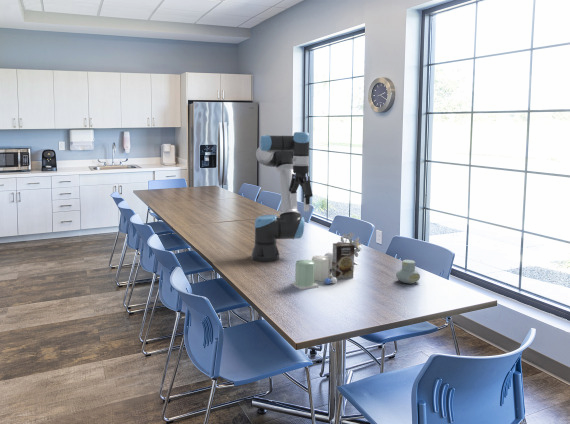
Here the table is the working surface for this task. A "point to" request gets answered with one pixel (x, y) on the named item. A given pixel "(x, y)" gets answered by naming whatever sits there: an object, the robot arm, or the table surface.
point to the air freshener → (408, 272)
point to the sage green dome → (305, 273)
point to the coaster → (305, 286)
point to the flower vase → (345, 242)
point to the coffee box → (343, 260)
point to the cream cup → (321, 267)
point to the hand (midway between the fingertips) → (300, 208)
